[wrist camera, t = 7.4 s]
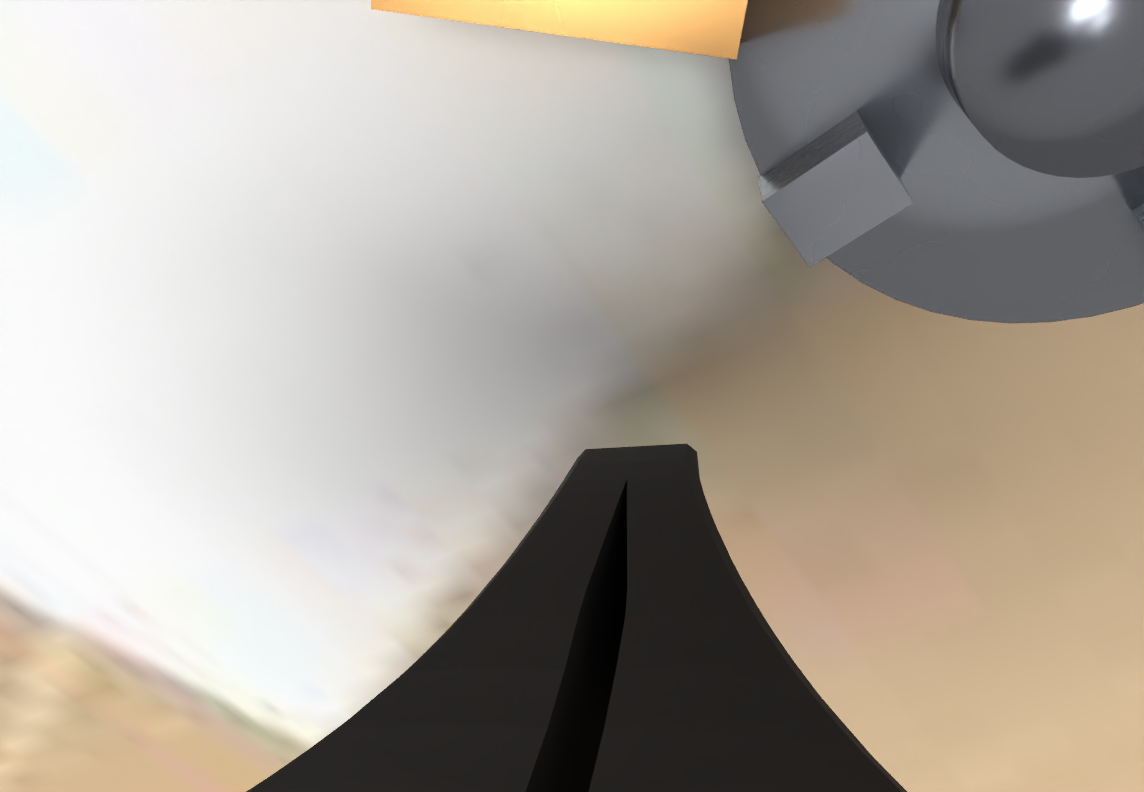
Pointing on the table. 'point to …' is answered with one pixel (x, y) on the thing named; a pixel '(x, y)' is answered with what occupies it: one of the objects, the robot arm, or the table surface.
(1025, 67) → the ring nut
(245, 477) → the table surface
